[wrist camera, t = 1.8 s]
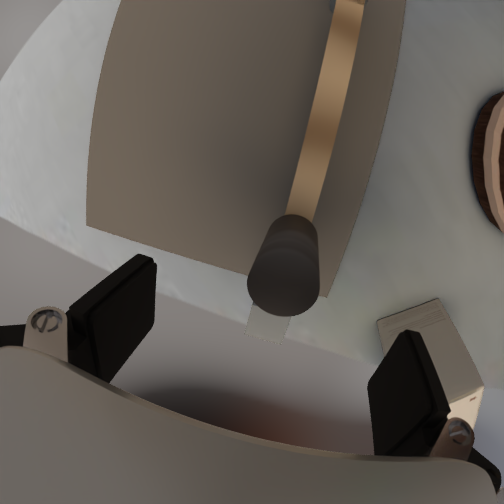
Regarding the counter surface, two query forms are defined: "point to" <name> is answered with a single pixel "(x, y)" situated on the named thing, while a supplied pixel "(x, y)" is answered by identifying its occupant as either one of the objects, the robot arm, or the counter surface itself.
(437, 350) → the supplement box
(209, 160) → the taupe mat
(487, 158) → the mug
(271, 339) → the gate frame
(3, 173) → the counter surface
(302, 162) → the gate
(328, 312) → the counter surface
